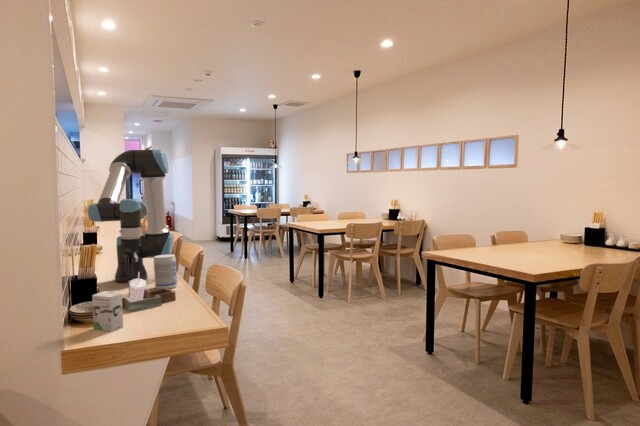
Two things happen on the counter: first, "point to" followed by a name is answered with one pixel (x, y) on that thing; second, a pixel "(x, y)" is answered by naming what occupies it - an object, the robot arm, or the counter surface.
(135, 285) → the beverage cup
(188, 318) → the counter surface
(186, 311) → the counter surface
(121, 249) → the robot arm
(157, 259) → the supplement tub
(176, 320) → the counter surface
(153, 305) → the divided tray
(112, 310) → the ink box
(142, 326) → the counter surface
